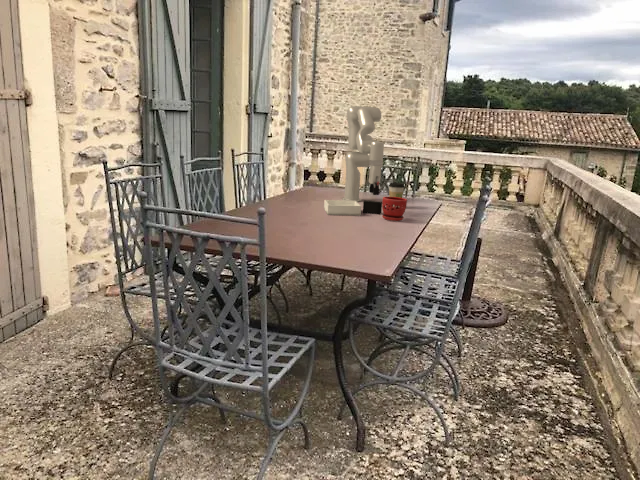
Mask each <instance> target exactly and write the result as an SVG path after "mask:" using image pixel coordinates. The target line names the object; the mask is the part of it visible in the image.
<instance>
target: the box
mask: <svg viewBox="0 0 640 480" xmlns="http://www.w3.org/2000/svg"><path fill="white" fill-rule="evenodd" d="M323 201H324V202H323V210H324V211H326V212H325V213H326V214H327V216H353V217H354V216H355V217H358V216H360V217H361V214H362V205H361V204H360V203H359V202H356V201H343V200H342V199H339V200H338V199H335V200H334V199H329V200H328V199H324V200H323Z"/></svg>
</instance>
